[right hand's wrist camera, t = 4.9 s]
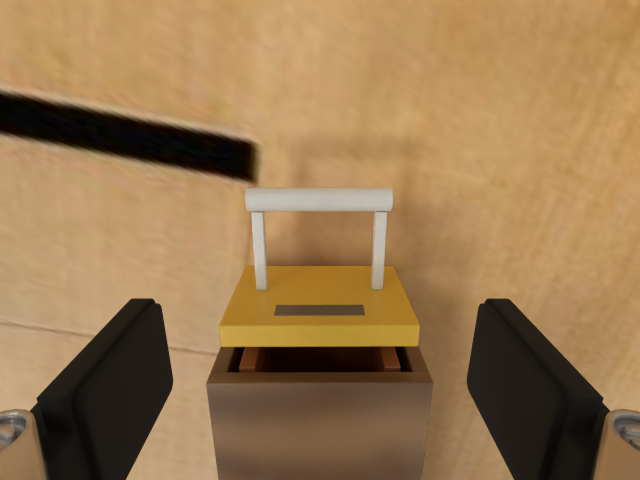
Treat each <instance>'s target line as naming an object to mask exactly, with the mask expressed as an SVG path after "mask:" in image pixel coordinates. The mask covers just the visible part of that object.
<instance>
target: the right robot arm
mask: <svg viewBox="0 0 640 480" xmlns="http://www.w3.org/2000/svg"><path fill="white" fill-rule="evenodd" d="M172 386H173V375H172V369H171V363H170V357H169V351H168V344H167V338H166V332H165V326H164V320H163V314H162V308H161V305H160V304H156V303H155V301H154V300H153V299H131V300H129V302H128V303H127V304H126V305H125V306H124V307H123V308H122V309H121V310H120V311H119V312H118V313H117V314H116V315H115V316H114V317H113V318H112V319H111V320H110V322H109V323H108V324H107V325H106V326H105V327H104V328H103V329H102V330H101V331H100V332H99V333H98V334H97V335H96V336H95V337H94V338H93V339H92V340H91V341H90V343H89V344H88V345H87V346H86V347H85V348H84V349H83V350H82V351H81V352H80V353H79V354H78V355H77V356H76V357H75V358H74V359H73V360H72V361H71V363H70V364H69V365H68V366H67V367H66V368H65V369H64V370H63V371H62V372H61V373H60V374H59V375H58V376H57V377H56V378H55V379H54V380H53V381H52V382H51V384H50V385H49V386H48V387H47V388H46V389H45V390H44V391H43V392H42V393H41V394H40V395H39V396H38V397H37V401H38V403H37V404H36V405H35V406H34V407H33V408H32V409H31V410H30V411H27V410H21V409H13V410H7V411H2V412H0V480H126V478H127V476H128V474H129V472H130V470H131V468H132V466H133V465H134V463H135V461H136V459H137V457H138V455H139V453H140V451H141V449H142V447H143V445H144V443H145V441H146V439H147V437H148V435H149V433H150V431H151V429H152V427H153V425H154V424H155V422H156V420H157V418H158V416H159V414H160V412H161V410H162V408H163V406H164V404H165V402H166V400H167V398H168V396H169V394H170V392H171V390H172ZM467 386H468V390H469V392H470V394H471V396H472V398H473V400H474V402H475V404H476V406H477V408H478V410H479V412H480V414H481V416H482V418H483V420H484V422H485V424H486V425H487V427H488V429H489V431H490V433H491V435H492V437H493V439H494V441H495V443H496V445H497V447H498V449H499V451H500V453H501V455H502V457H503V459H504V461H505V463H506V465H507V466H508V468H509V470H510V472H511V474H512V476H513V478H514V480H640V412H638V411H633V410H627V409H619V410H613V411H610V410H609V409H608V408H607V407H606V406H605V405H604V404H603V403H602V401H603V397H602V396H601V395H600V394H599V393H598V392H597V391H596V390H595V389H594V388H593V387H592V386H591V385H590V384H589V382H588V381H587V380H586V379H585V378H584V377H583V376H582V375H581V374H580V373H579V372H578V371H577V370H576V369H575V368H574V367H573V366H572V365H571V364H570V363H569V361H568V360H567V359H566V358H565V357H564V356H563V355H562V354H561V353H560V352H559V351H558V350H557V349H556V348H555V347H554V346H553V345H552V344H551V343H550V341H549V340H548V339H547V338H546V337H545V336H544V335H543V334H542V333H541V332H540V331H539V330H538V329H537V328H536V327H535V326H534V325H533V324H532V323H531V322H530V320H529V319H528V318H527V317H526V316H525V315H524V314H523V313H522V312H521V311H520V310H519V309H518V308H517V307H516V306H515V305H514V304H513V303H512V302H511V300H509V299H487V300H486V301H485V303H484V304H480V305H479V308H478V314H477V320H476V326H475V332H474V338H473V344H472V351H471V357H470V363H469V369H468V375H467Z"/></svg>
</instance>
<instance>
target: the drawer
mask: <svg viewBox="0 0 640 480" xmlns="http://www.w3.org/2000/svg"><path fill="white" fill-rule="evenodd" d="M245 203H246V209H247V211H252V213H251V216H252V231H253V246H254V262H255V266H246V267H245V269H244V271H243V273H242V276H241V278H240V280H239V282H238V285H237V287H236V289H235V291H234V294H233V296H232V298H231V300H230V303H229V305H228V307H227V309H226V312H225V314H224V316H223V318H222V321H221V323H220V325H219V331H220V340H221V346H222V347H245V350H244V353H243V356H242V360H241V363H240V366H239V372H400V364H399V361H398V358H397V354H396V351H395V348H394V346H418V342H419V333H420V324H419V322H418V320H417V317H416V315H415V313H414V311H413V308H412V306H411V304H410V302H409V299H408V297H407V295H406V293H405V291H404V288H403V286H402V284H401V282H400V279H399V277H398V275H397V273H396V271H395V268H394V266H384V261H385V244H386V228H387V211H391V210H392V207H393V190H392V188H391V187H292V188H247V189H246V194H245ZM264 211H374V228H373V249H372V266H267V251H266V232H265V214H264Z"/></svg>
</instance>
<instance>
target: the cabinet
mask: <svg viewBox="0 0 640 480" xmlns="http://www.w3.org/2000/svg"><path fill="white" fill-rule="evenodd" d="M394 348H395V351H396V354H397V358H398V361H399V364H400V372H239V366H240V363H241V360H242V356H243V353H244V350H245V347H222V346H221V348H220V350H219V353H218V355H217V358H216V361H215V363H214V366H213V368H212V371H211V373H210V375H209V378H208V380H207V383H206V386H207V394H208V402H209V409H210V417H211V425H212V432H213V440H214V448H215V456H216V463H217V471H218V479H219V480H421V479H422V471H423V463H424V455H425V446H426V438H427V430H428V422H429V414H430V406H431V398H432V390H433V381H432V378H431V376H430V373H429V371H428V369H427V366H426V364H425V362H424V359H423V357H422V354H421V352H420V349H419V347H418V346H394Z"/></svg>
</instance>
